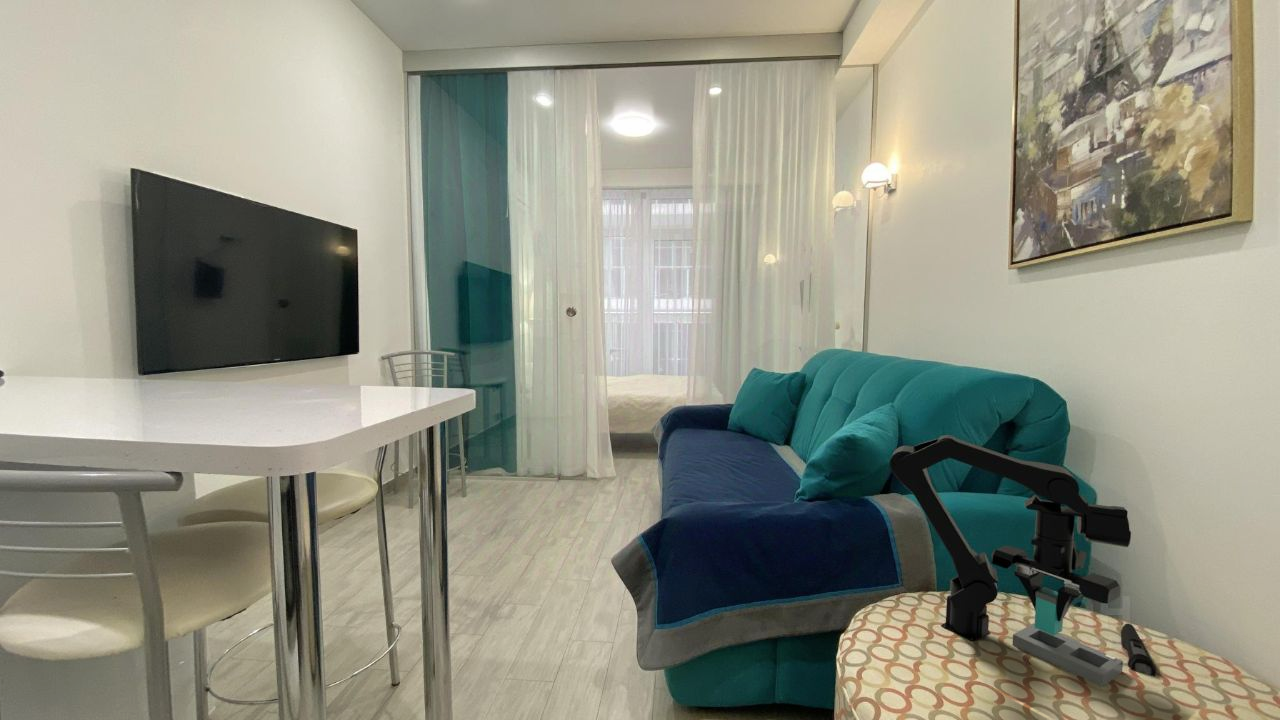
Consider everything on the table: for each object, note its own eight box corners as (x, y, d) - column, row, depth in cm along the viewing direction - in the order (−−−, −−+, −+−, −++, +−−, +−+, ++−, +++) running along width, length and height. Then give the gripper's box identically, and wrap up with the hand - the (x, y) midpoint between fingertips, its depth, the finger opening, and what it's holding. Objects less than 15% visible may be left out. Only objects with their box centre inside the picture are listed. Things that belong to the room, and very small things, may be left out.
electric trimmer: (1141, 641, 108) (1142, 625, 108) (1157, 681, 95) (1158, 664, 95) (1116, 634, 110) (1117, 619, 110) (1128, 673, 98) (1129, 656, 97)
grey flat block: (1012, 647, 105) (1013, 633, 105) (1032, 635, 109) (1033, 622, 109) (1102, 689, 93) (1103, 674, 93) (1122, 674, 97) (1123, 659, 97)
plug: (1033, 627, 104) (1035, 591, 103) (1042, 622, 105) (1044, 587, 105) (1054, 636, 101) (1056, 599, 100) (1063, 631, 102) (1065, 594, 102)
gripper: (1135, 544, 98) (1129, 628, 99) (1020, 512, 114) (1016, 585, 115) (1109, 557, 92) (1103, 646, 93) (991, 522, 108) (987, 598, 109)
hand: (1049, 616), depth 103 cm, fingers closed on plug, 3 cm apart
